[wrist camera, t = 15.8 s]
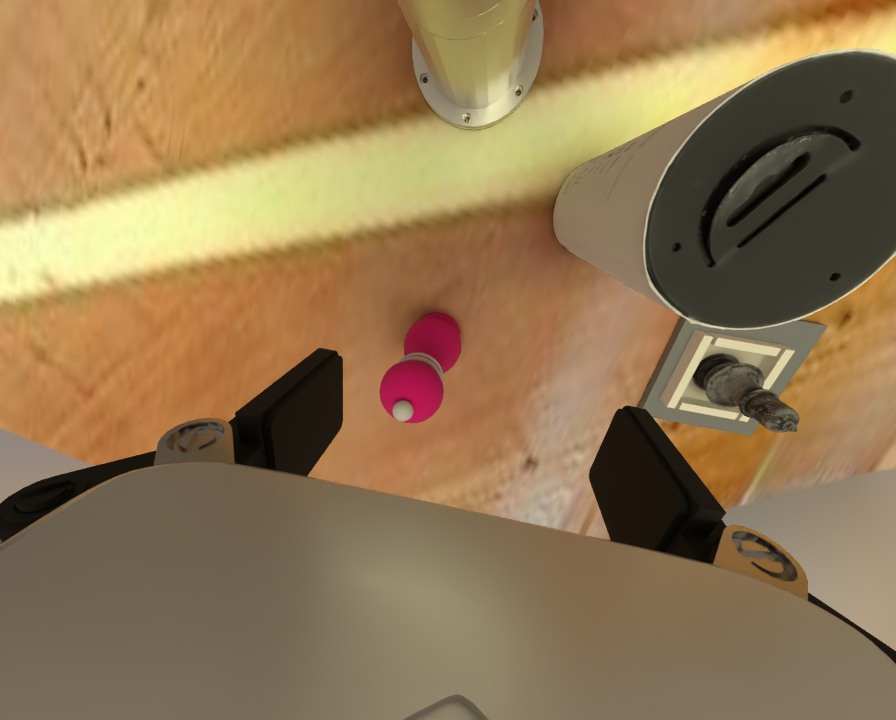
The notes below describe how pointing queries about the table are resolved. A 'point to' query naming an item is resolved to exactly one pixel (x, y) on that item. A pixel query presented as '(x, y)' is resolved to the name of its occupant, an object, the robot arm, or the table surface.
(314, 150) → the table surface
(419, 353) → the pepper mill
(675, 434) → the table surface
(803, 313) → the speaker
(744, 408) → the salt shaker
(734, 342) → the socket board
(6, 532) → the robot arm
